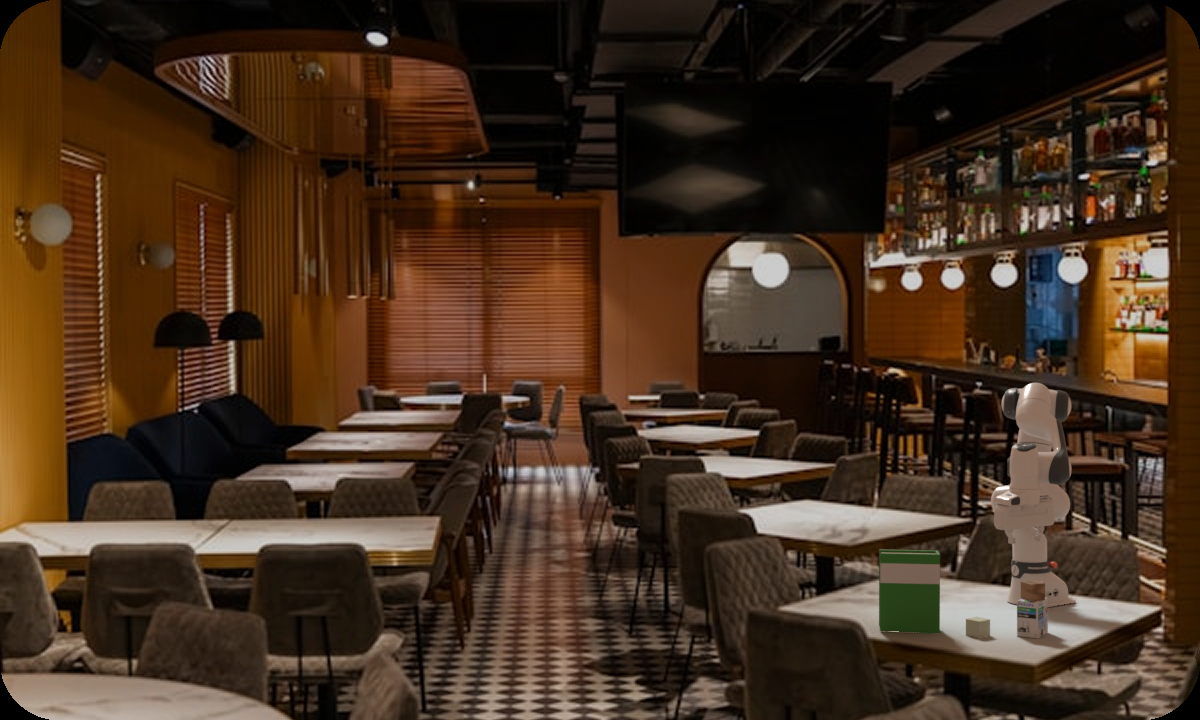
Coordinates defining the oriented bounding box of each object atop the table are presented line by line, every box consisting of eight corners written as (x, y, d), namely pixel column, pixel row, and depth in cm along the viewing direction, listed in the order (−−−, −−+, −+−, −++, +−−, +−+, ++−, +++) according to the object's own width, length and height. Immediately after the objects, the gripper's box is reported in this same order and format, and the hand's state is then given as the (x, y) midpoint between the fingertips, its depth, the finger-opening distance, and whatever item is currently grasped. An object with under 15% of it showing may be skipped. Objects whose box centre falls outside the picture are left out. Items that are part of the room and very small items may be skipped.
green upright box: (880, 632, 445) (880, 553, 444) (878, 626, 452) (879, 549, 452) (939, 633, 443) (940, 554, 442) (937, 628, 450) (937, 550, 449)
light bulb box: (1038, 639, 435) (1038, 603, 434) (1016, 636, 438) (1016, 600, 438) (1048, 632, 444) (1048, 597, 444) (1026, 630, 447) (1026, 594, 447)
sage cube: (976, 633, 443) (976, 616, 443) (990, 636, 439) (990, 619, 439) (965, 635, 440) (965, 618, 440) (979, 638, 436) (979, 621, 436)
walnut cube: (1034, 596, 444) (1034, 580, 444) (1045, 599, 439) (1045, 583, 439) (1020, 598, 442) (1020, 581, 442) (1031, 601, 437) (1031, 584, 437)
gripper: (1045, 493, 452) (1045, 537, 453) (990, 498, 445) (990, 543, 445) (1059, 495, 446) (1059, 540, 447) (1003, 500, 439) (1004, 546, 440)
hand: (1024, 542), depth 446 cm, fingers open, 8 cm apart
